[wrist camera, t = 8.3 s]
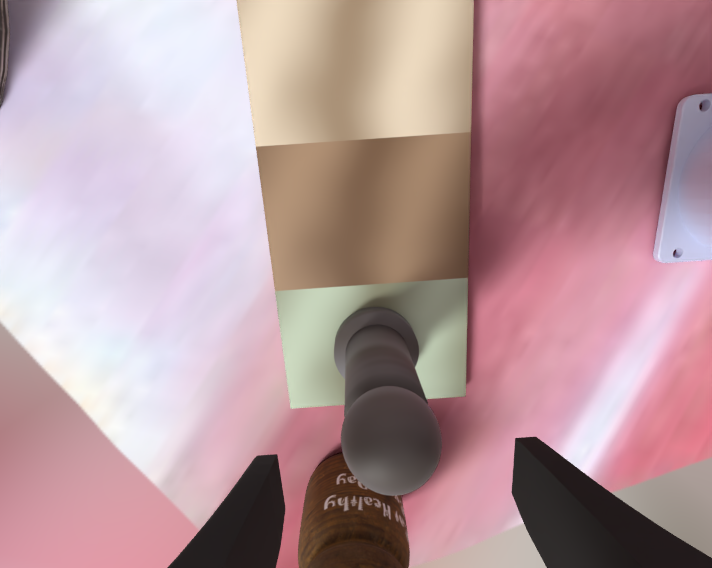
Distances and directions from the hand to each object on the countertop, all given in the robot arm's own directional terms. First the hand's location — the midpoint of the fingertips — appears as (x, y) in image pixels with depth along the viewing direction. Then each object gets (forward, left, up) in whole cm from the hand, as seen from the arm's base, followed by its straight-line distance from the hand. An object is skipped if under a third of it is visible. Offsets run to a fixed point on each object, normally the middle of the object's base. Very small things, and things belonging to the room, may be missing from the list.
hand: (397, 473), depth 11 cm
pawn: (0, 0, -9) cm, 9 cm away
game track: (0, -7, -10) cm, 12 cm away
